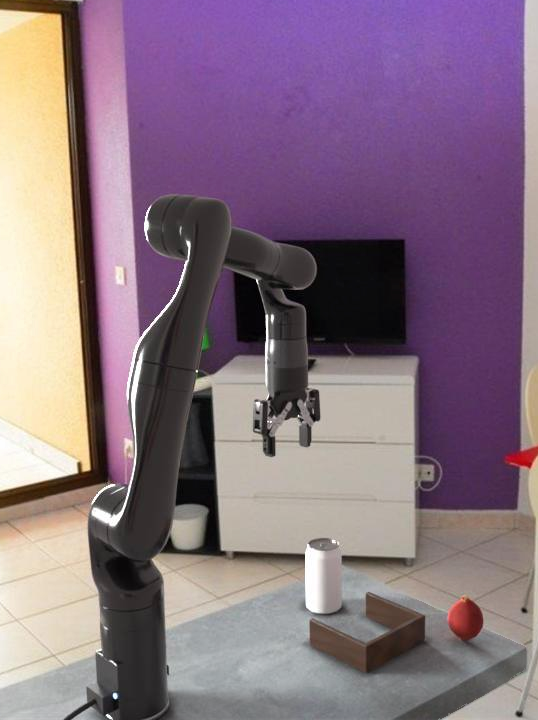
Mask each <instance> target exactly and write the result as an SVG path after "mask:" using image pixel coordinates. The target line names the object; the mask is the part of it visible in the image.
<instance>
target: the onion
mask: <svg viewBox="0 0 538 720" xmlns="http://www.w3.org/2000/svg"><path fill="white" fill-rule="evenodd" d="M446 619H447V625H448V627H449V629H450V631H451V632H452V633H453V634H454V635H455V636H456V637H457V638H459V639H460V640H461V641H462V642H468V641H470V640H472V639H474V638H476V637H477V636H478V635H479V634H480V633H481V631H482V629H483V627H484V623H485V622H484V615H483V612H482V609H481V608H480V606H479V605H478V604H477V603H476V602H475V601H473V600H472V599H471V598H469V596H468V595H462V596H461V597H460V599H459V600H458V601H456V602H455V603H454V604H452V606H451V608H450V609H449V610H448V614H447V617H446Z"/></svg>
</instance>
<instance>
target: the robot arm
mask: <svg viewBox="0 0 538 720" xmlns="http://www.w3.org/2000/svg"><path fill="white" fill-rule="evenodd" d="M231 213H232V212H231V210H230V207H229V206H228V204H227V203H226V202H225V201H223V200H221V199H219V198H215V197H208V196H199V195H192V194H191V195H190V194H182V193H181V194H180V193H172V194H171V193H169V194H165V195H162V196H159V197H158V198H156V199H155V200H154V201H153V202H152V203H151V205H150V206H149V208H148V210H147V212H146V216H145V221H144V233H145V236H146V240H147V242H148V244H149V246H150V247H151V249H153V251H155V252H156V253H157V254H158V255H160V256H162V257H166V258H168V259H173V260H180V261H185V264H184V269H183V272H182V275H181V278H180V281H179V285H178V287H177V289H176V292H175V294H174V295H173V297H172V299H171V300H170V302H169V303H168V304H167V305H166V306H165V308H164V309H163V310H162V311H161V312H160V314H159V315H158V316H157V317H156V318H155V319H154V321H153V322H152V323H151V324H150V326H149V327H148V328H147V329H146V330H145V331H144V332H143V334H142V336H141V337H140V338H139V340H138V342H137V344H136V345H135V349H134V352H133V357H132V362H131V367H130V372H129V377H128V381H127V388H126V405H127V406H126V407H127V413H128V414H127V415H128V419H129V425H130V431H131V437H132V445H133V458H132V459H133V461H132V469H131V473H130V478H129V484H127V483H121V482H120V483H114V484H113V483H112V484H110V485H108V486H106V487H104V488H102V489H101V490H100V491H99V492H98V494H96V496H95V497H94V499H93V500H92V502H91V505H90V507H89V511H88V515H87V516H88V517H87V541H88V553H89V561H90V562H89V564H90V572H91V577H92V581H93V583H94V585H95V588H96V590H97V593H98V595H97V596H98V614H99V615H98V616H99V633H100V635H99V637H100V649H98V650H96V651H95V656H94V657H95V673H96V681H94V682H92V683H90V684H87V685H86V687H85V688H86V702H85V703H84V704H82V705H80V706H79V707H77V708H76V709H74V710H73V711H72V712H70V713H69V714H68V715H66V716H65V717H64V718H63V719H62V720H73V719H74V718H76V717H78V716H79V715H80V714H82V713H84V712H85V711H86V710H88V709H89V708H93V709H94V710H95V711H96V712H98V713H99V714H100V715H101V716H103V717H104V718H106V720H158V719H159V718H161V717H162V716H164V715H165V713H167V711H168V709H169V707H170V697H169V685H168V682H169V681H168V676H170V666H169V664H168V659H167V657H168V655H167V634H166V633H167V632H166V604H165V582H164V576H163V575H162V573H161V571H160V569H159V568H158V567H157V565H156V564H155V562H154V560H153V559H155V557H157V556H158V555H159V554H160V553H161V552H162V550H163V549H164V548H165V546H166V545H167V544H168V543H167V542H168V540H169V539H170V536H171V532H172V528H173V525H174V518H175V511H176V501H177V500H176V499H177V489H178V479H179V472H180V471H179V470H180V463H181V457H182V450H183V445H184V442H185V441H184V440H185V435H186V429H187V423H188V418H189V415H190V408H191V405H192V400H193V396H194V392H195V387H196V383H197V377H198V373H199V372H198V371H199V367H200V361H201V357H202V350H203V346H204V345H203V344H204V341H205V335H206V330H207V326H208V321H209V317H210V313H211V309H212V306H213V303H214V302H213V301H214V298H215V295H216V291H217V287H218V285H219V281H220V279H221V275H222V271H223V268H225V269H226V270H227V269H228V270H230V271H232V272H234V273H237V274H240V275H242V276H245V277H248V278H251V279H253V280H256V283H257V287H258V290H259V293H260V297H261V300H262V304H263V308H264V313H265V328H266V330H265V335H266V336H265V337H266V338H265V339H266V341H265V346H264V348H265V349H264V363H265V365H264V366H265V388H266V390H267V392H268V396H267V398H266V399H259V398H255V399H254V400H253V405H252V407H253V409H252V433H254V434H257V435H260V436H261V438H262V453H263V454H264V456H265V457H269V458H273V457H275V456H276V455H277V454H276V451H277V450H276V436H275V435H276V433H277V431H278V429H279V427H280V426H282V425H283V423H284V421H289V420H290V419H296V420H297V421H298V423H299V424H300V425H299V426H298V444H299V446H300V447H303V448H310V447H311V444H312V440H313V439H312V437H313V436H312V435H313V434H312V427H313V426H314V424H315V423H316V422H320V421H321V399H320V390H319V389H316V388H312V387H309V347H308V341H307V340H308V339H307V310H306V307H305V306H304V305H303V304H301V303H298V302H296V301H292V300H290V299H288V298H287V297H286V295H285V292H284V290H298V291H299V290H304V289H306V288H309V286H311V285H312V284H313V283H314V281H315V279H316V277H317V271H318V268H317V262H316V259H315V258H314V256H313V255H312V253H311V252H310V251H308V250H307V249H306V248H304V247H300V246H297V245H292V244H288V243H282V242H277V241H274V240H272V239H270V238H268V237H266V236H265V235H262V234H260V233H258V232H254V231H252V230H248V229H244V228H240V227H236V226H233V220H232V219H233V218H232V214H231ZM274 417H275V418H274Z"/></svg>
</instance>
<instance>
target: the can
mask: <svg viewBox="0 0 538 720" xmlns="http://www.w3.org/2000/svg"><path fill="white" fill-rule="evenodd" d="M342 555H343V554H342V549H341V547H340V542H339V540H336V539H334V538H329V537H318V538H317V537H316V538H314V539H311V540H309V541H308V542H307V547H306V550H305V606H306V609H308V611H309V612H311V613H313V614H317V615H332V614H335V613H337V612H338V611H340V609H341V608H342V606H343V558H342V557H343V556H342Z"/></svg>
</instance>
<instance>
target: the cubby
mask: <svg viewBox="0 0 538 720" xmlns="http://www.w3.org/2000/svg"><path fill="white" fill-rule="evenodd" d="M365 617H366V618H368V619H370V620H372V621H374V622H376V623H379V624H381V625H383V626H386V627H387V628H390V630H388V631H385V632H384V633H383V634H380V635H379V636H376V637H375V638H373V639H371V640H369V641H367V642H364V641H362V640H360V639H358V638H357V637H353V636H352V635H350V634H347V633H345V632H343V631H341V630H339V629H338V628H335V627H334V626H330V625H328V624H326V623H324V622H322V621H321V620H318V619H316V618H314V617H312V618H310V619H309V645H310V646H311V647H314V648H315V649H318V650H320V651H321V652H323V653H324V654H327V655H329V656H331V657H333V658H334V659H337V660H339V661H341V662H343V663H345V664H347V665H349V666H351V667H353V668H354V669H357V670H358V671H361V672H362V673H364V674H368V673H369V672H371V671H373V670H376V669H377V668H379V667H380V666H382V665H384V664H386V663H387V662H389V661H391V660H393V659H394V658H397V657H398V656H399V655H401V654H403V653H405V652H407V651H408V650H410V649H413V648H414V647H416V646H417V645H419V644H421V643H423V642H425V641H426V615H425V614H423V613H420V612H418V611H416V610H414V609H411V608H409V607H406V606H405V605H401V604H399V603H397V602H394V601H391V600H390V599H387V598H384V597H382V596H380V595H378V594H376V593H372V592H371V591H367V592H365Z"/></svg>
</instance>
